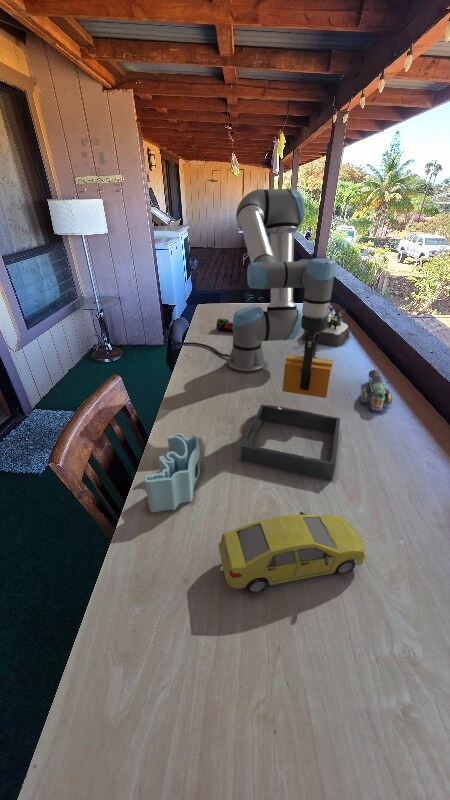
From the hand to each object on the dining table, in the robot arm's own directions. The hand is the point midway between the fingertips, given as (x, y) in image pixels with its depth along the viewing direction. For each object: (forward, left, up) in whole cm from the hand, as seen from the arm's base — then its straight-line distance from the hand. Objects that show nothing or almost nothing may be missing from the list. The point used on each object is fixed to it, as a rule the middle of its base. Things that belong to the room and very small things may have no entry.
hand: (306, 383), depth 115 cm
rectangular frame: (0, -23, -8) cm, 24 cm away
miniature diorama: (+2, +68, -9) cm, 69 cm away
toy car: (+6, -60, -9) cm, 61 cm away
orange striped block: (0, 0, -2) cm, 2 cm away
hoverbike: (+23, +15, -9) cm, 29 cm away
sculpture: (-38, +63, -9) cm, 74 cm away
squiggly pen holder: (-25, -48, -9) cm, 54 cm away
